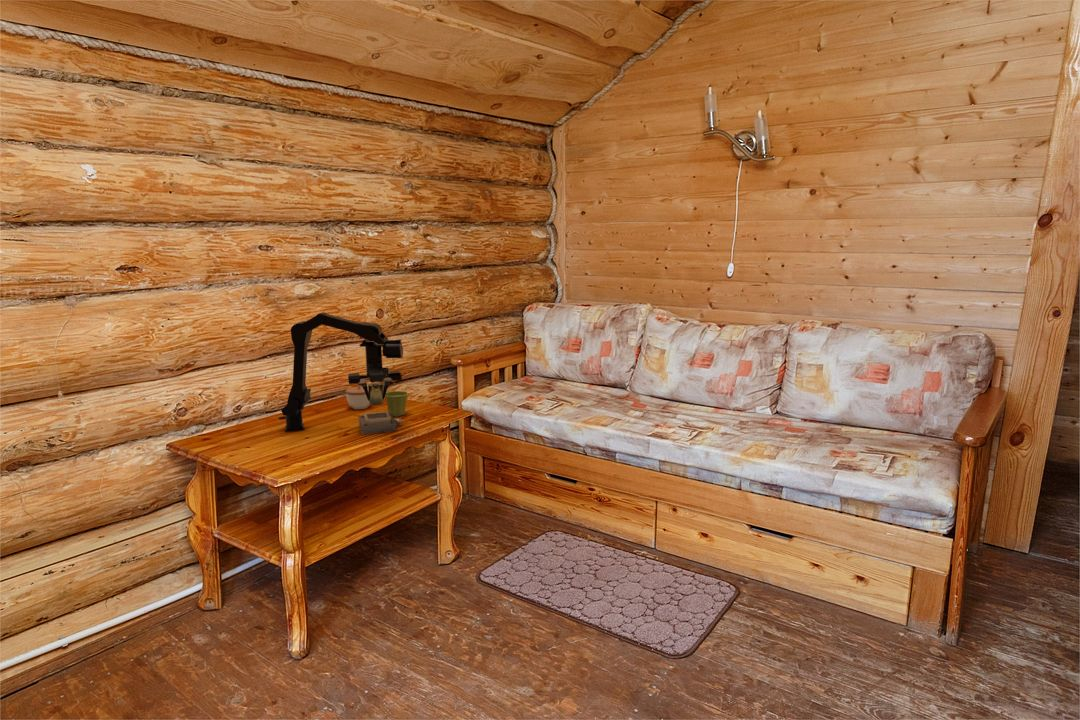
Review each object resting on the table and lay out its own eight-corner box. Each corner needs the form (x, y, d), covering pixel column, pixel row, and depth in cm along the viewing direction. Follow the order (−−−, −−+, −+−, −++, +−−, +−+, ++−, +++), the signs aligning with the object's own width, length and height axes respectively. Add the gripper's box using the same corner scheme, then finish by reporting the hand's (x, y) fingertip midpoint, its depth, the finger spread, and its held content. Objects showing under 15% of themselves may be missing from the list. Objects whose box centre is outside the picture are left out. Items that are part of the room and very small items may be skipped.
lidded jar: (348, 404, 270) (346, 383, 268) (374, 403, 272) (373, 382, 270) (345, 411, 260) (343, 389, 258) (372, 410, 261) (371, 388, 260)
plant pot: (385, 412, 259) (384, 391, 257) (409, 410, 261) (408, 390, 259) (384, 418, 250) (383, 396, 248) (409, 417, 252) (408, 395, 250)
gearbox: (359, 423, 243) (358, 412, 242) (399, 420, 248) (399, 408, 247) (362, 434, 230) (361, 422, 229) (404, 430, 235) (404, 418, 234)
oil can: (368, 402, 238) (367, 382, 237) (382, 401, 240) (381, 381, 238) (370, 407, 232) (369, 386, 230) (384, 405, 233) (383, 385, 232)
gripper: (348, 364, 223) (351, 407, 226) (403, 360, 229) (404, 403, 232) (346, 358, 233) (349, 399, 236) (398, 355, 239) (400, 395, 242)
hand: (376, 399), depth 236 cm, fingers closed on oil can, 5 cm apart
